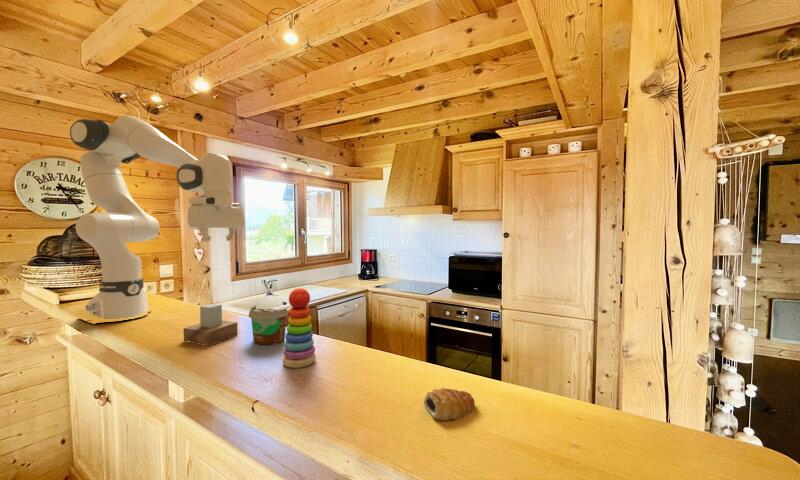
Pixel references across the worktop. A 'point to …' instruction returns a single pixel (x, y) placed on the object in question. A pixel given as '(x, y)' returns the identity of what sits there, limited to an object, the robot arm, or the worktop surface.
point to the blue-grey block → (210, 315)
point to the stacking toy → (299, 332)
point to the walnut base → (210, 333)
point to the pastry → (448, 403)
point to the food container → (268, 325)
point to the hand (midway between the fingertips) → (218, 241)
